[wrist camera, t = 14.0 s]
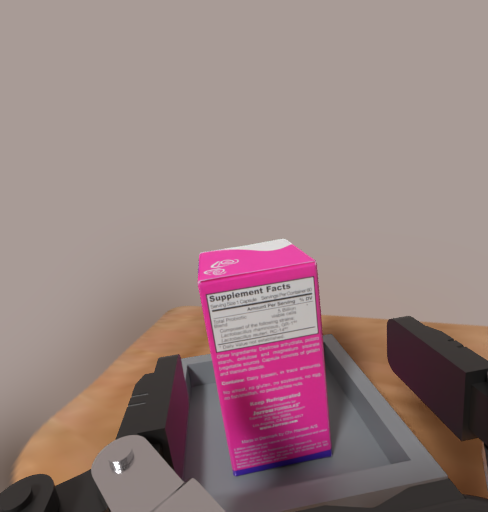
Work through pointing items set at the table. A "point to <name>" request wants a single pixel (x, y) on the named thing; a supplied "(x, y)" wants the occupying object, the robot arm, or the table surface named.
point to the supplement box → (267, 353)
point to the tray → (316, 471)
